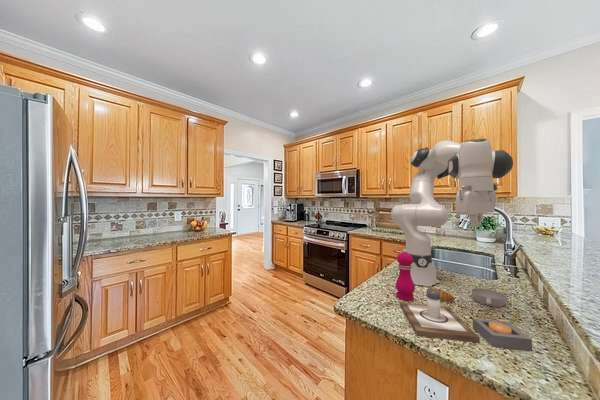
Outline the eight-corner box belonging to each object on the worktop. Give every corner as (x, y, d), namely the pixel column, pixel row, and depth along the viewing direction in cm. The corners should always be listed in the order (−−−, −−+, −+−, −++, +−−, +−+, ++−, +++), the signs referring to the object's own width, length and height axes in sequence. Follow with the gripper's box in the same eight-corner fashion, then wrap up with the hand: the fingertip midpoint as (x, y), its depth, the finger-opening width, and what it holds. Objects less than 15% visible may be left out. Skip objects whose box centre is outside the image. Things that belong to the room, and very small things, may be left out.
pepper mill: (391, 295, 91) (391, 248, 92) (404, 293, 94) (404, 247, 94) (405, 302, 84) (405, 251, 85) (419, 300, 87) (418, 250, 87)
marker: (424, 313, 72) (424, 289, 72) (434, 312, 73) (434, 288, 73) (432, 319, 68) (432, 293, 69) (443, 318, 69) (443, 293, 69)
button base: (472, 327, 67) (472, 318, 67) (506, 331, 65) (506, 321, 65) (492, 346, 58) (492, 335, 58) (532, 351, 56) (531, 339, 56)
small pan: (506, 301, 86) (506, 292, 86) (509, 319, 73) (509, 307, 73) (472, 294, 93) (472, 285, 93) (469, 309, 80) (469, 298, 80)
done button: (484, 328, 65) (484, 320, 65) (503, 330, 64) (503, 322, 64) (496, 338, 60) (495, 329, 60) (516, 340, 59) (516, 331, 59)
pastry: (455, 299, 88) (455, 290, 88) (452, 305, 83) (452, 295, 83) (429, 293, 94) (429, 284, 94) (425, 298, 89) (424, 288, 90)
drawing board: (400, 306, 81) (400, 301, 81) (447, 310, 78) (447, 305, 78) (416, 335, 63) (416, 329, 63) (479, 342, 60) (479, 335, 60)
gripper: (471, 185, 66) (472, 230, 66) (499, 186, 76) (500, 225, 76) (449, 186, 71) (449, 228, 71) (477, 187, 81) (478, 223, 81)
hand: (475, 226), depth 73 cm, fingers closed
